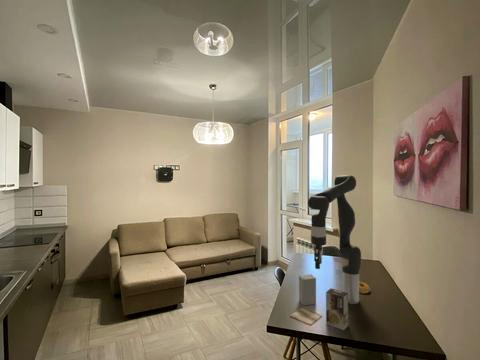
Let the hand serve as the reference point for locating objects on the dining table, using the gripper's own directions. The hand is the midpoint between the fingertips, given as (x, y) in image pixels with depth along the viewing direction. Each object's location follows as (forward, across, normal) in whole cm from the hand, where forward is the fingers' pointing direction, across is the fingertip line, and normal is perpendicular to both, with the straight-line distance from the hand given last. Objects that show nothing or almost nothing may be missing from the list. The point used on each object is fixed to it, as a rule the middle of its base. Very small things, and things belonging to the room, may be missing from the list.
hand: (318, 266), depth 133 cm
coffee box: (+28, +1, +9) cm, 29 cm away
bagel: (+29, -48, +22) cm, 60 cm away
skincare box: (+28, -16, -8) cm, 33 cm away
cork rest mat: (+28, 0, -6) cm, 28 cm away
